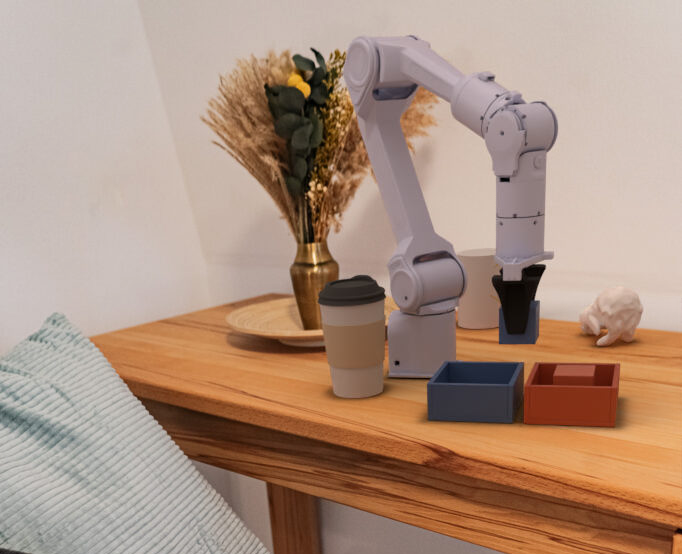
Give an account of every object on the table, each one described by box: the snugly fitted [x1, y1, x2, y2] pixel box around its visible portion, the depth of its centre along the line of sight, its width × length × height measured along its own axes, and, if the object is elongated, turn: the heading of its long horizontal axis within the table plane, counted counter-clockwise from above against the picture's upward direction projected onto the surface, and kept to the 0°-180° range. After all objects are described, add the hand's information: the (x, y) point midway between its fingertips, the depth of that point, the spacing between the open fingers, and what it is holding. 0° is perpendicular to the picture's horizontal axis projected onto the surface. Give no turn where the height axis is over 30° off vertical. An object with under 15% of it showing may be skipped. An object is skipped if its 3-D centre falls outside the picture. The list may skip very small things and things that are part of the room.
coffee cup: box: [317, 274, 387, 399], centre depth 112 cm, size 9×9×15 cm
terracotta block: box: [553, 365, 596, 386], centre depth 100 cm, size 4×4×4 cm
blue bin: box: [426, 360, 525, 424], centre depth 104 cm, size 10×10×5 cm
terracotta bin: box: [523, 361, 621, 428], centre depth 100 cm, size 10×10×5 cm
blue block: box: [498, 299, 541, 345], centre depth 105 cm, size 4×4×4 cm
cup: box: [456, 247, 503, 330], centre depth 144 cm, size 8×8×12 cm
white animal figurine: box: [578, 285, 644, 347], centre depth 129 cm, size 6×8×12 cm
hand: (518, 329), depth 106 cm, fingers closed on blue block, 4 cm apart
